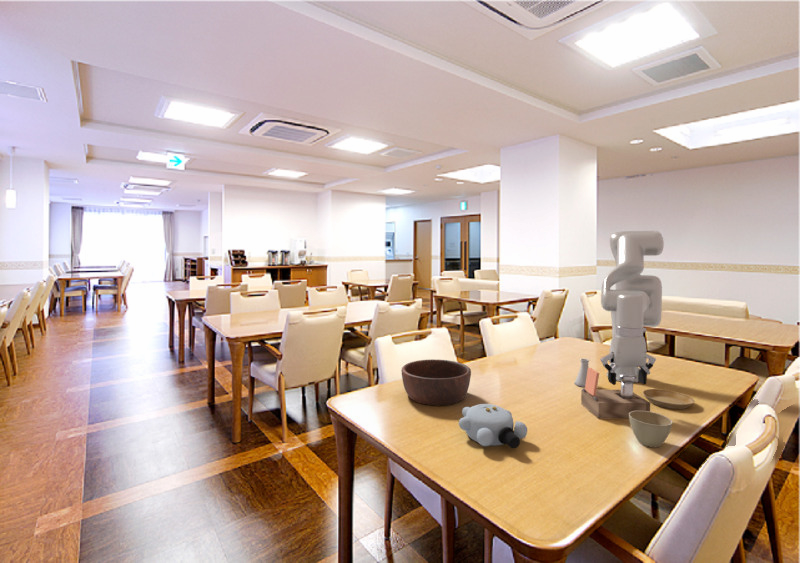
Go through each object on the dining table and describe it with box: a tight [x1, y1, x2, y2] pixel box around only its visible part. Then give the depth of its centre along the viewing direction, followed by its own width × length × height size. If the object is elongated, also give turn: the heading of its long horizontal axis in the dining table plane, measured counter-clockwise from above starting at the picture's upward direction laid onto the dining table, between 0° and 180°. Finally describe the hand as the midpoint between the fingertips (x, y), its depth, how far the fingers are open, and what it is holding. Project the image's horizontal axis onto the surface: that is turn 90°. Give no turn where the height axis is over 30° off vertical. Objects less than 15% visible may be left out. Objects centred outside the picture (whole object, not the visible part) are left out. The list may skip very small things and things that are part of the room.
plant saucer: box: [642, 388, 696, 410], centre depth 137 cm, size 15×15×3 cm
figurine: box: [458, 403, 528, 450], centre depth 111 cm, size 17×8×20 cm
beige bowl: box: [628, 411, 673, 448], centre depth 108 cm, size 10×10×7 cm
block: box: [580, 387, 651, 420], centre depth 130 cm, size 16×12×6 cm
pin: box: [619, 373, 636, 399], centre depth 130 cm, size 5×5×12 cm
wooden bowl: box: [400, 359, 472, 406], centre depth 144 cm, size 25×25×10 cm
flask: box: [573, 358, 590, 388], centre depth 156 cm, size 7×7×10 cm
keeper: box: [584, 367, 600, 396], centre depth 129 cm, size 8×6×1 cm
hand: (627, 383), depth 130 cm, fingers open, 9 cm apart
